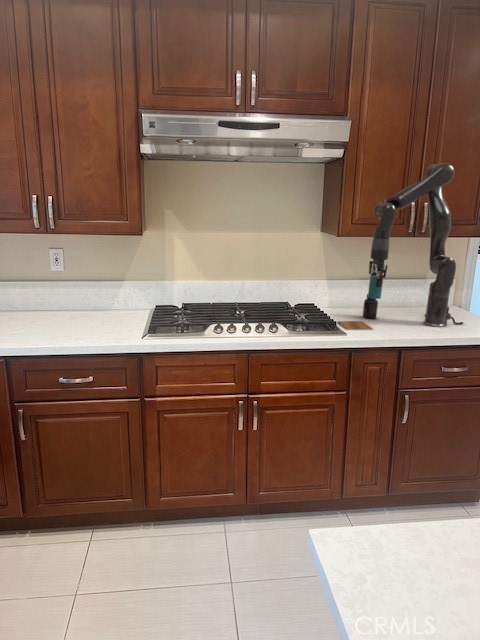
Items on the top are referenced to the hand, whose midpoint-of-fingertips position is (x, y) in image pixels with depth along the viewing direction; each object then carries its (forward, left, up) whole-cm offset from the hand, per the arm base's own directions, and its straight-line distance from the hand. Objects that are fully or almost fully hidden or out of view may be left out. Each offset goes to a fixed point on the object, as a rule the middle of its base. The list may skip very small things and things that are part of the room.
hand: (375, 285), depth 213 cm
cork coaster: (+7, -3, -20) cm, 21 cm away
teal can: (0, 0, -6) cm, 6 cm away
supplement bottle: (-7, -18, -20) cm, 28 cm away
